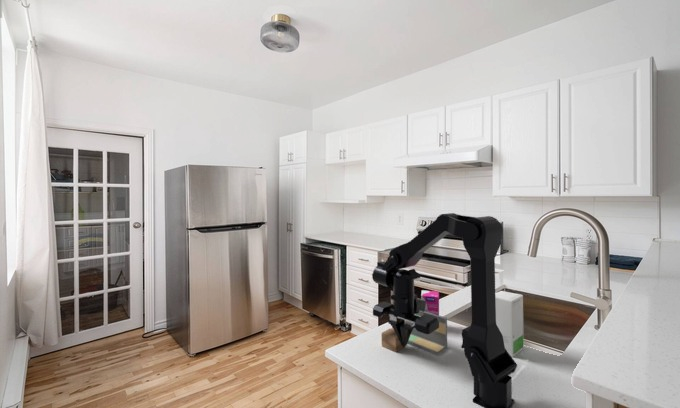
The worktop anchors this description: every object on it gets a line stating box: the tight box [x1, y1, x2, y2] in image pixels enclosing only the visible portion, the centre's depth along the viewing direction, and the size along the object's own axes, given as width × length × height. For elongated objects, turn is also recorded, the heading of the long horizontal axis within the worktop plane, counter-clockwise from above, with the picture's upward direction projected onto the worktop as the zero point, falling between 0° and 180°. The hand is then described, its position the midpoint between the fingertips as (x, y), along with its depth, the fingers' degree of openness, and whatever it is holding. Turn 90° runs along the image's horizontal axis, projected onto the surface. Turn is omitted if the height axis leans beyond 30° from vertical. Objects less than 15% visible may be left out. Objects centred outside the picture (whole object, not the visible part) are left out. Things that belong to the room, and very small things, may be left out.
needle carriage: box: [381, 328, 404, 353], centre depth 91 cm, size 5×6×4 cm
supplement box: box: [420, 289, 440, 316], centre depth 103 cm, size 6×6×12 cm
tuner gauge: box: [390, 311, 448, 356], centre depth 93 cm, size 18×6×9 cm, turn 44°
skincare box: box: [495, 290, 525, 358], centre depth 88 cm, size 8×7×16 cm
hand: (404, 346), depth 87 cm, fingers closed
